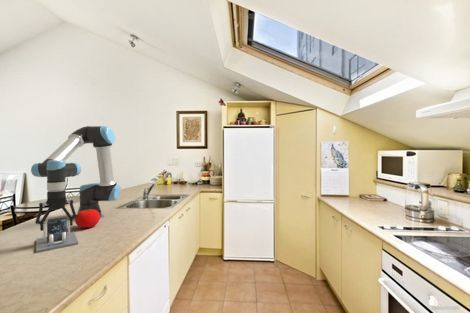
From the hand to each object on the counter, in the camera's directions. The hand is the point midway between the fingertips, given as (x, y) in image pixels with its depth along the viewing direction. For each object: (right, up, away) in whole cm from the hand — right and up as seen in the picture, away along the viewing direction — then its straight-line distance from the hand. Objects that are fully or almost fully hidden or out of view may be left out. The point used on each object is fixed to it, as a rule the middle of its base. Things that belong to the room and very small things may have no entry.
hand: (57, 234), depth 119 cm
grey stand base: (0, -4, 0) cm, 4 cm away
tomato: (0, -4, +25) cm, 25 cm away
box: (0, -3, 0) cm, 3 cm away
